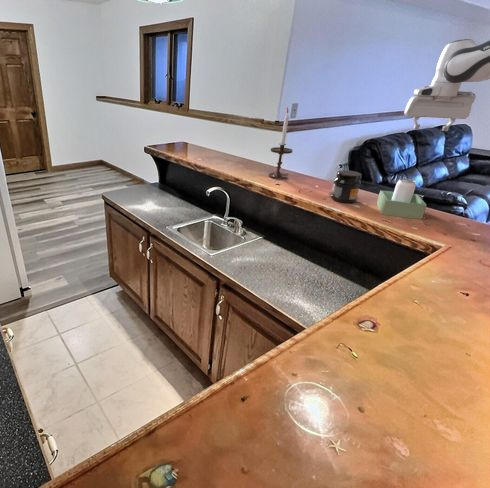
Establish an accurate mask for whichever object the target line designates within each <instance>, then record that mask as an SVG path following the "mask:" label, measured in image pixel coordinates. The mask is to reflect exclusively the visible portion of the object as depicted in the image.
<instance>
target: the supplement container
mask: <svg viewBox="0 0 490 488" xmlns="http://www.w3.org/2000/svg"><path fill="white" fill-rule="evenodd" d="M361 179H362V173H361V172H358V171H354V170H347V169H346V170H345V169H343V170H338V171H337V172H336V177H335V178H333V185H332V189H331V193H330V199H331V200H333V201H335V202H337V201H338V203H342V202H343V204H351V203H355V202H356V201H357V199H358V195H359V191H360V187H361V185H362V182H361Z"/></svg>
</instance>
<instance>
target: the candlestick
mask: <svg viewBox="0 0 490 488" xmlns="http://www.w3.org/2000/svg"><path fill="white" fill-rule="evenodd" d="M289 119H290V117H289V108H288V106H287V107H286V114H285V116H284V119H283V120H284V121H283V127H282V132H281V139H280V143H278V145H279V146H278V147H271V148H270V152H271V153H274V154H278V155H279V156H278V161H276V164H277V166H276V167H275V168H276V171H275V172H270V173H268V177H269V176H270V177H269V178H271V177H274V178H285V177H286V178H287V174H284V173H282V172H281V171H280V170H281V168H282V165H283V161H282V158H283V155H288V154H292V153H293V149H292V148H288V147H285V146H287V144H286V138H287V137H286V136H287V131H288V124H289ZM274 178H273V179H274ZM286 178H285V179H286Z"/></svg>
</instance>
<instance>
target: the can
mask: <svg viewBox="0 0 490 488" xmlns="http://www.w3.org/2000/svg"><path fill="white" fill-rule="evenodd" d="M416 183H417V180H414V179H413V178H406V177H402V178H401V177H400V178H399V179H398V181H397V182H396V184H395V187H394V191H393V192H394V193H393V196H392V199H391V200H393V201H402V202H411V199H412V196H413V194H415V190H416V186H417V184H416Z"/></svg>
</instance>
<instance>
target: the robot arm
mask: <svg viewBox="0 0 490 488" xmlns="http://www.w3.org/2000/svg"><path fill="white" fill-rule="evenodd" d="M489 80H490V39H489V40H487V41H485V42H483V43H480V44H478V43H476V41H475V40H474V39H471V38H466V39H465V38H464V39H458V40H453V41H451V42H449V43H447V44H446V45H445V47H444V48H443V50H442V52H441V54H440V56H439V58H438V61H437V64H436V67H435V75H434V77H433V78H432V80H431V83H430V85H426V86H422V87H418V88H415V89H414V91H413V96H411V97H410V98H409V100H408V102H407V103H406V105H405V108H404V111H403V114H404V116H405V117H410V118H411V117H412V121H413V124H414V125H413V130H420V126H421V124H419V123H418V121H419V120H420V118H432V119H433V118H434V119H448V123H446V124H445V125H442V128H441V131H442V132H448V131H449V129H450V127H451V126H452V125H453V124H454V123H455V122H456V120H466V119H467V118H468V117H470V114H471V111H472V106H473V104H474V103H475V100H476V94H475V93H474V92H473V91H461V90H460V88H461V85H462V83H479V82H484V81H489Z"/></svg>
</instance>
